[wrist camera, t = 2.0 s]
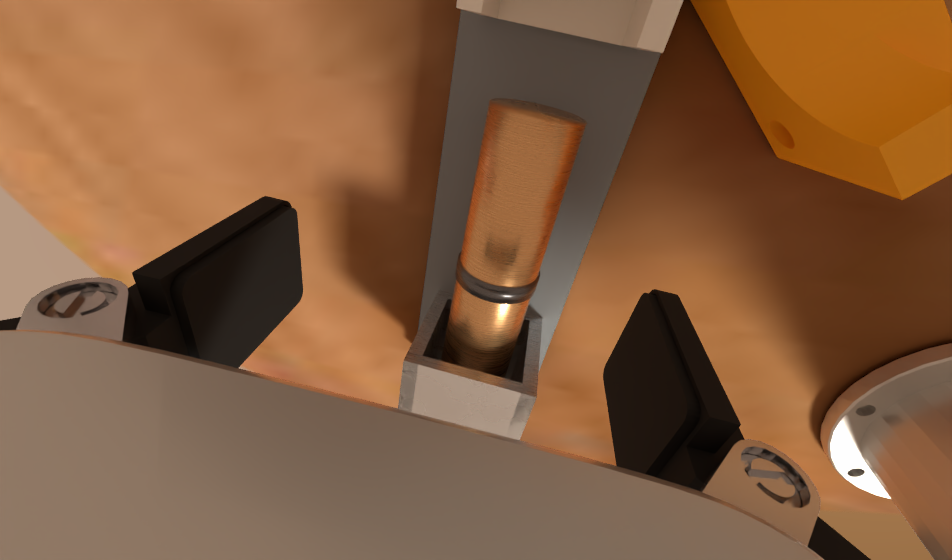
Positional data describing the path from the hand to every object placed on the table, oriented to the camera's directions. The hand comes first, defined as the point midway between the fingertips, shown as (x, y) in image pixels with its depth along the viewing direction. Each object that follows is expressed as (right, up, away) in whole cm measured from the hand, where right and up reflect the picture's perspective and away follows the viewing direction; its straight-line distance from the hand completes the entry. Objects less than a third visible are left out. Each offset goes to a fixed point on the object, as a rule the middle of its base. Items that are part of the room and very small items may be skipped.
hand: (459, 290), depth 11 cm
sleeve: (+1, -4, +14) cm, 14 cm away
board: (+2, +4, +10) cm, 11 cm away
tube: (+2, +1, +10) cm, 10 cm away
